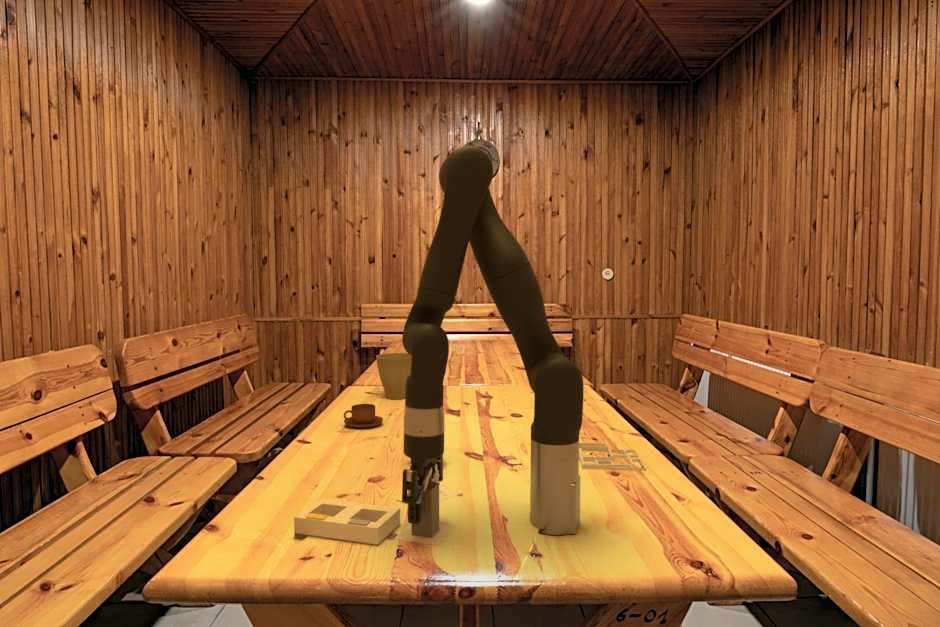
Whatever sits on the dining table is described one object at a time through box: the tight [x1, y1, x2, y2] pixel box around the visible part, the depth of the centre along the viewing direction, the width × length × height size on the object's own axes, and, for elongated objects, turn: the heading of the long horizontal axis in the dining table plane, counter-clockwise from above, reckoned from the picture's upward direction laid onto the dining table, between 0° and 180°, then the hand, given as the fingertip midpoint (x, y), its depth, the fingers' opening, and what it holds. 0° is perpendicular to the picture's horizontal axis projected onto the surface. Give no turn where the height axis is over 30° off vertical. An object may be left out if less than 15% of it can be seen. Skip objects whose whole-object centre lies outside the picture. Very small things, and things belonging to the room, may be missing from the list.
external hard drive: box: [395, 485, 464, 505], centre depth 143 cm, size 2×8×12 cm
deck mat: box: [393, 522, 457, 546], centre depth 124 cm, size 9×9×1 cm
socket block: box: [293, 498, 401, 547], centre depth 126 cm, size 17×10×4 cm, turn 72°
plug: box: [411, 482, 440, 538], centre depth 124 cm, size 4×4×9 cm
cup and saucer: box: [343, 403, 384, 429], centre depth 207 cm, size 12×12×6 cm
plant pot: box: [375, 352, 412, 401], centre depth 248 cm, size 15×15×16 cm
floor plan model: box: [579, 442, 647, 472], centre depth 173 cm, size 19×25×2 cm
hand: (423, 514), depth 124 cm, fingers open, 8 cm apart
